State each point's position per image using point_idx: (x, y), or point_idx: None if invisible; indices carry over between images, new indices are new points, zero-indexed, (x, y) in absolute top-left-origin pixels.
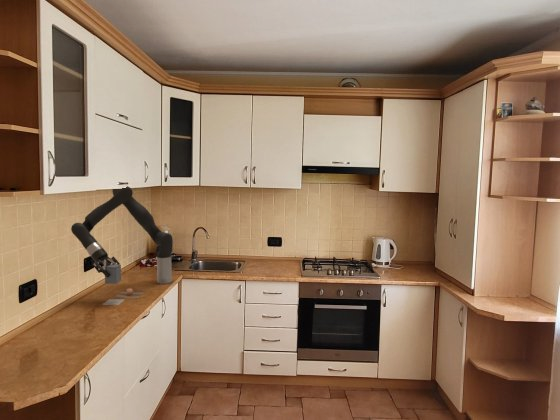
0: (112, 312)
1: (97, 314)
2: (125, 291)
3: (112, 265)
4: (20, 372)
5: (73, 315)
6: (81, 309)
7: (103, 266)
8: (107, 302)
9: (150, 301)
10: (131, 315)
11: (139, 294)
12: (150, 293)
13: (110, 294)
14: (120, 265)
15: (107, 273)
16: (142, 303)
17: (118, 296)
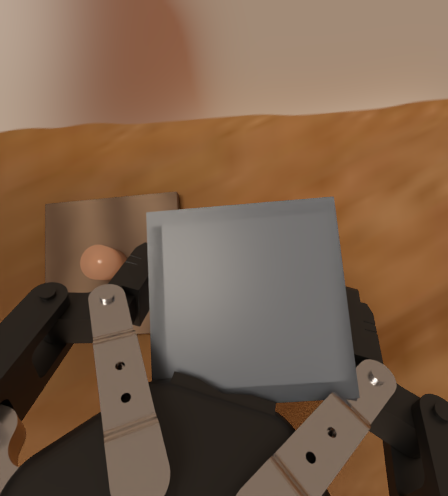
0: (361, 241)
1: (399, 303)
2: None
3: (215, 322)
4: None
5: None
6: None
7: (368, 427)
8: None
9: (187, 127)
10: (387, 132)
11: (108, 210)
12: (61, 178)
13: (81, 396)
14: (165, 213)
15: (359, 317)
16: (219, 153)
17: (147, 313)
